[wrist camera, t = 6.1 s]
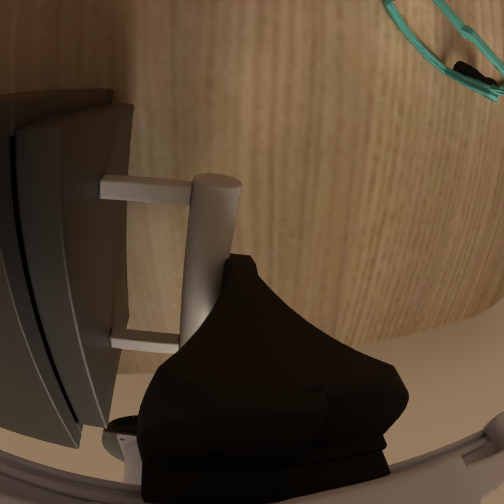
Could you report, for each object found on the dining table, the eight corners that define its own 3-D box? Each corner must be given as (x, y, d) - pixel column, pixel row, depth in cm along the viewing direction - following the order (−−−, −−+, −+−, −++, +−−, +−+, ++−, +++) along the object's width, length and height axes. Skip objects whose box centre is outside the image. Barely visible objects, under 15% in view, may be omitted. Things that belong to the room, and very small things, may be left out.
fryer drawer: (238, 114, 11) (275, 142, 6) (206, 322, 16) (214, 438, 10) (-71, 120, 8) (-160, 161, 2) (-44, 287, 13) (-95, 361, 7)
